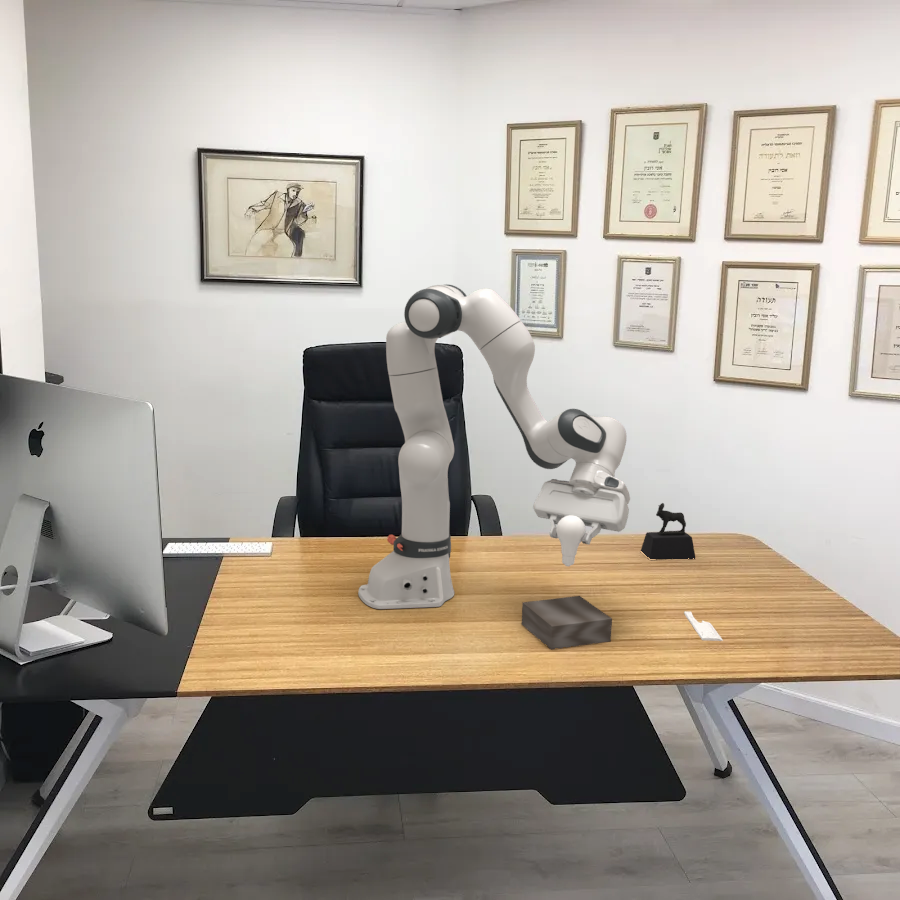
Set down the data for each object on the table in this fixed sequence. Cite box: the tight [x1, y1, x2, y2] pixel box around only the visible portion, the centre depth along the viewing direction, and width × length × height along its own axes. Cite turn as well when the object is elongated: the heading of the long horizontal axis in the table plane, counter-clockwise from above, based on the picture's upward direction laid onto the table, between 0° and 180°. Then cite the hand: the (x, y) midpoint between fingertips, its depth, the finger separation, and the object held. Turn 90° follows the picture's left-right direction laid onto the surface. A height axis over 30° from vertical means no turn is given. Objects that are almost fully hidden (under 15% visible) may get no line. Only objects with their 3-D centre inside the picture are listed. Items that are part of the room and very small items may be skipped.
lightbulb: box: [556, 515, 587, 567], centre depth 195 cm, size 6×6×11 cm
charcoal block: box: [521, 595, 613, 650], centre depth 198 cm, size 14×14×5 cm
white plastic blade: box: [683, 611, 724, 642], centre depth 204 cm, size 5×15×1 cm, turn 0°
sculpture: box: [640, 502, 696, 560], centre depth 251 cm, size 8×13×15 cm, turn 97°
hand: (569, 539), depth 194 cm, fingers closed on lightbulb, 6 cm apart
